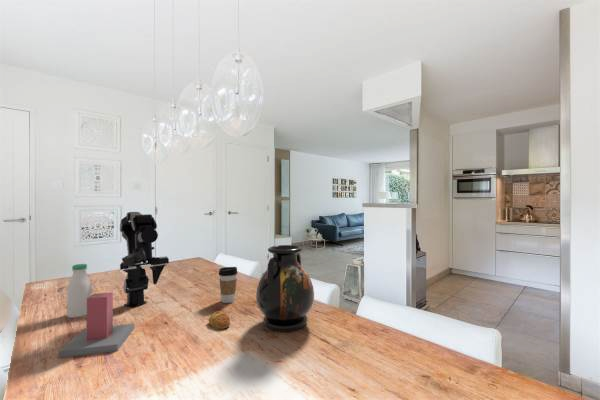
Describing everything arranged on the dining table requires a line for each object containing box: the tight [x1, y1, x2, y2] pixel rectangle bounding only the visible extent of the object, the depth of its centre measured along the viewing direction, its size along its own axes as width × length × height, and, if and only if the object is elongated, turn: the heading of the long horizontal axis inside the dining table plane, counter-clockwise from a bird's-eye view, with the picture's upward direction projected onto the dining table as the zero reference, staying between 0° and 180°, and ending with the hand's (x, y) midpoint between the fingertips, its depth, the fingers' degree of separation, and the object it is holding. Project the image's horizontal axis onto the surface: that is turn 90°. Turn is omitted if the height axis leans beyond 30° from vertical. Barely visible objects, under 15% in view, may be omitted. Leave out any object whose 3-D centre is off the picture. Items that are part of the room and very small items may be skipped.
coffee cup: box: [218, 266, 238, 304], centre depth 126 cm, size 8×8×15 cm
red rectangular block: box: [86, 292, 114, 340], centre depth 89 cm, size 4×6×13 cm
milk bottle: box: [66, 263, 93, 319], centre depth 111 cm, size 8×8×20 cm
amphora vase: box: [255, 244, 315, 332], centre depth 102 cm, size 22×22×28 cm
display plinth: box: [58, 323, 135, 359], centre depth 89 cm, size 15×15×2 cm
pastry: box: [208, 310, 231, 330], centre depth 101 cm, size 9×7×4 cm
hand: (145, 285), depth 108 cm, fingers open, 9 cm apart
